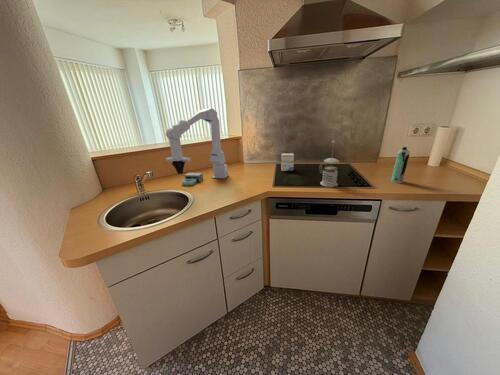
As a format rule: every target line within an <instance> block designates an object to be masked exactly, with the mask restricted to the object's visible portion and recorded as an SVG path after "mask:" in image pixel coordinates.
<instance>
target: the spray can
mask: <svg viewBox="0 0 500 375" xmlns="http://www.w3.org/2000/svg"><path fill="white" fill-rule="evenodd" d="M410 154H411V151H409V150H408V146H403V147H402V148H401V149H400V150H398V152H397V153H396V159H395V162H394V167H393V171H392V174H391V178H390V181H391V182H392V183H396V184H401V183H403V181H404V177H405V173H406V170H407V166H408V162H409V159H410Z"/></svg>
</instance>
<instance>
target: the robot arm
mask: <svg viewBox="0 0 500 375" xmlns="http://www.w3.org/2000/svg"><path fill="white" fill-rule="evenodd" d="M200 120H203V121H205V122H207V124H209V125H210V132H211V146H212V147H211V149H212V150H211V151H210V156H209V161H210V162H211V163H212V170H213V176H212V177H211V178H212V179H226V178H227V177H228V176H229V170H228V168H229V167H228V164H227V163H226V156H225V152H224V151H223V150H222V147H221V146H222V145H221V142H222V141H221V127H220V126H221V125H220V120H219V117H218V112H217V110H215V109H214V108H201V109H199V110H198V111H197V112H196V113H194V114H193V115H191V116H190V117H189V118H188V119H180V120H178V121H179V122H178V123H177V124H173V125H172V127H169V128H167V129H166V133H165V136H166V137H167V139H168V141H169V148H170V154H171V157H166V158H165V162H172V163H171V165H172V166H173V167H174V169H175V171H176V172H177V173H176V174H178V175H182V174H183V173H184V167H185V164H186V162H188V163H190V162H191V157H185V156H184V155H183V148H182V143H181V137H182V136H183V135H184V134H185V133H186V132H187V131H189V130H190V129H191V126H193V125H194V124H195V123H197V122H198V121H200Z"/></svg>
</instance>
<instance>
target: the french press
mask: <svg viewBox="0 0 500 375" xmlns="http://www.w3.org/2000/svg"><path fill="white" fill-rule="evenodd" d="M331 143H332V146H334V144H336V140H332V141H331ZM333 153H334V150H332V152H331V155H333ZM338 163H340V160H339V159H337V158H333V157H328V158H325V159H324V160H323V162H321V163H320V165H319V167H320V170H319V173H322V178H321V179H322V180H321V181H320V183H319V184H320V185H321V186H324V187H330V188H335V187H338V185H339V184H338V183H337V181H338V180H337V179H338V167H336V166H334V164H338ZM326 164H331V165H327V166H324V167H323V165H326ZM332 164H333V165H332ZM323 168H324V169H323ZM334 186H335V187H334Z"/></svg>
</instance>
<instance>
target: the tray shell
mask: <svg viewBox="0 0 500 375" xmlns="http://www.w3.org/2000/svg"><path fill="white" fill-rule="evenodd" d="M197 181H198V180H196V179H185V178H184V179H183V180H182V181H181V185H182V186H186V187H187V186H188V187H193V186H194V185H196V184H197V183H198V182H197Z"/></svg>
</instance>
